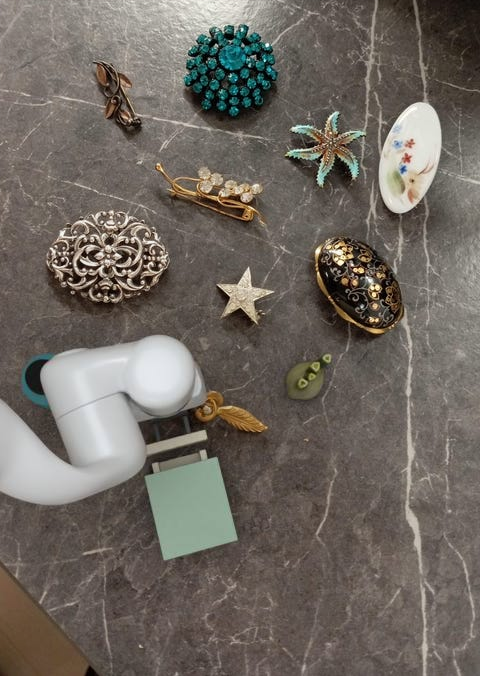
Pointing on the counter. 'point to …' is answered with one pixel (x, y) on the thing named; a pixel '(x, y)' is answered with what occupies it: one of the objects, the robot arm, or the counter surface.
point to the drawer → (176, 444)
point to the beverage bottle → (35, 380)
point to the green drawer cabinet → (190, 508)
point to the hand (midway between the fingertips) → (164, 397)
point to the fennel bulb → (306, 378)
